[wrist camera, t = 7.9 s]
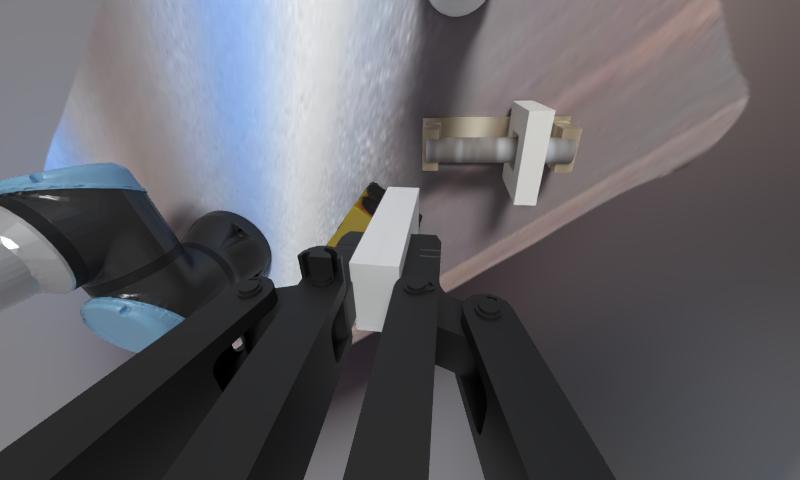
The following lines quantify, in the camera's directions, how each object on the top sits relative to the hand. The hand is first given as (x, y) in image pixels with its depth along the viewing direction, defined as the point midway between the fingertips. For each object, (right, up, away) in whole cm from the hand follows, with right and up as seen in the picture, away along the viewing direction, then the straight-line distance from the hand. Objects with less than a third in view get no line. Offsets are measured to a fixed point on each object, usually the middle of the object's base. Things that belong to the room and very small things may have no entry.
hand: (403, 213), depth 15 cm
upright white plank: (+16, +12, +26) cm, 33 cm away
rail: (+12, +13, +27) cm, 32 cm away
